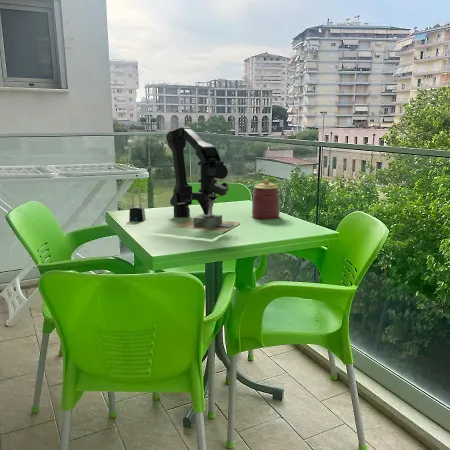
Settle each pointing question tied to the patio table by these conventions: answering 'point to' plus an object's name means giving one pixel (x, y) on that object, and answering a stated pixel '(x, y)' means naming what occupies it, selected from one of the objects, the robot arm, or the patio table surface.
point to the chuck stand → (208, 223)
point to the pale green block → (209, 209)
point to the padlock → (136, 210)
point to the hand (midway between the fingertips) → (207, 214)
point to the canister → (265, 201)
